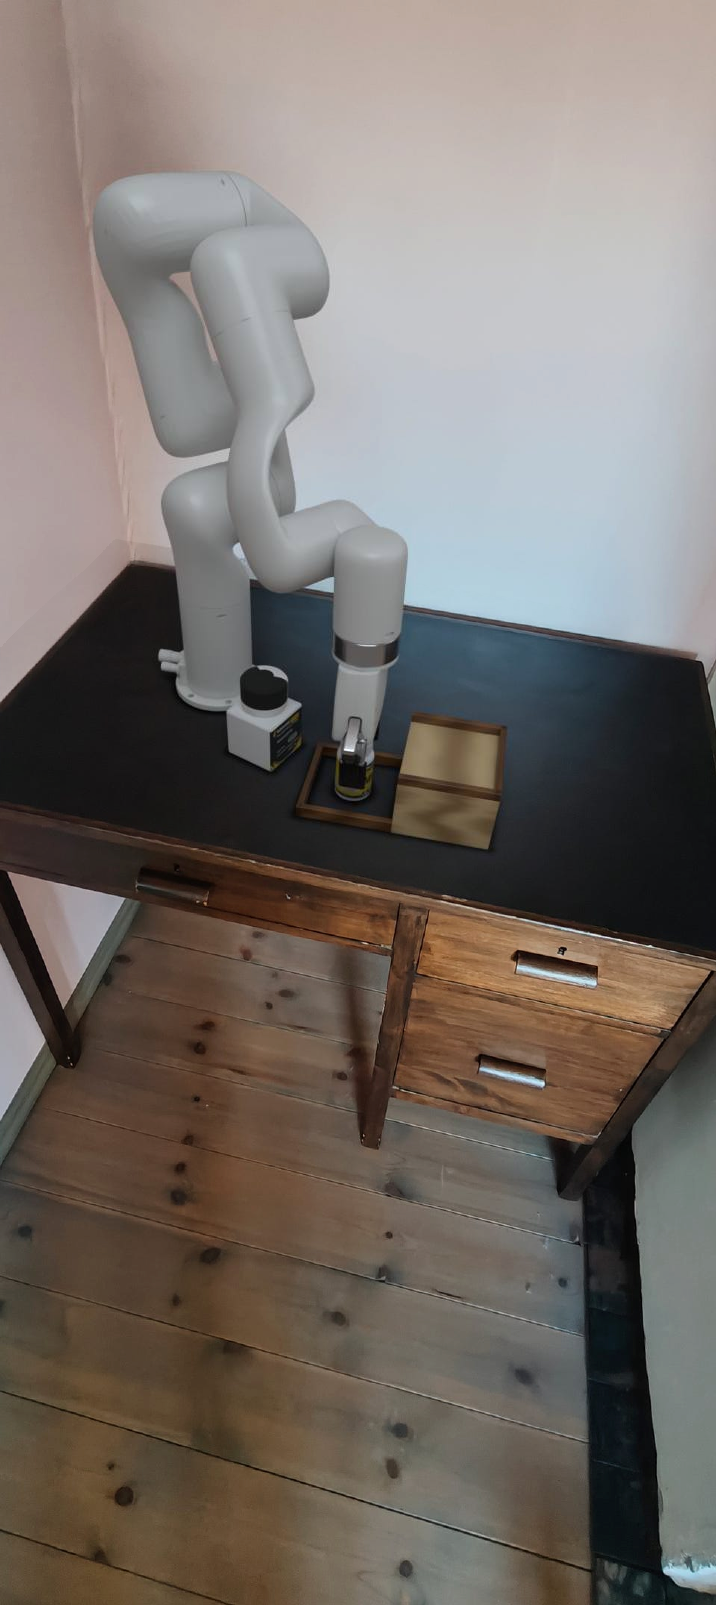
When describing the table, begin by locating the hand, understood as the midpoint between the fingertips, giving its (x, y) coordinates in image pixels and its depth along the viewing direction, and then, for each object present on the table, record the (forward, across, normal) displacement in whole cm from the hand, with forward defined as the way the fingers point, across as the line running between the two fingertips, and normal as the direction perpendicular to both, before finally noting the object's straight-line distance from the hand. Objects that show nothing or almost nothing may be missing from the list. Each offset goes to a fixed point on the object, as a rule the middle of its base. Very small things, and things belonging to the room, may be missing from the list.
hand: (359, 761), depth 103 cm
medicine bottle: (+5, -6, -14) cm, 16 cm away
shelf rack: (+5, 0, +5) cm, 8 cm away
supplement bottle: (+6, 0, -1) cm, 6 cm away
